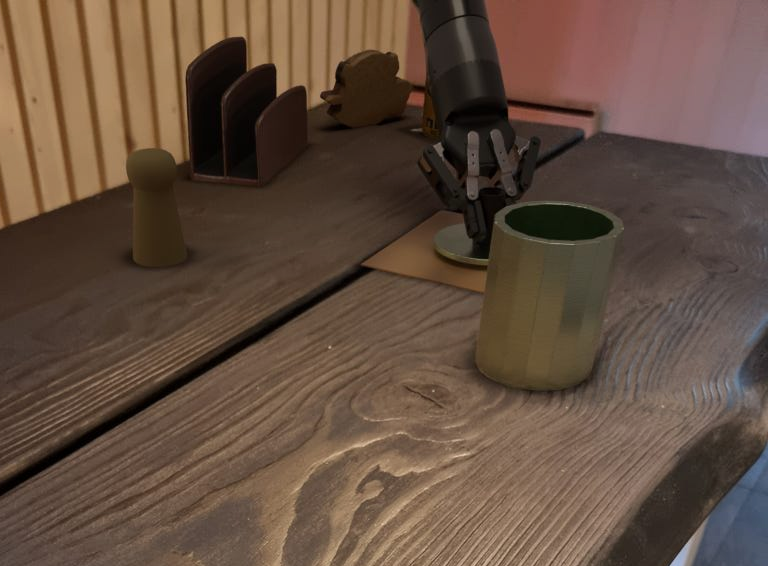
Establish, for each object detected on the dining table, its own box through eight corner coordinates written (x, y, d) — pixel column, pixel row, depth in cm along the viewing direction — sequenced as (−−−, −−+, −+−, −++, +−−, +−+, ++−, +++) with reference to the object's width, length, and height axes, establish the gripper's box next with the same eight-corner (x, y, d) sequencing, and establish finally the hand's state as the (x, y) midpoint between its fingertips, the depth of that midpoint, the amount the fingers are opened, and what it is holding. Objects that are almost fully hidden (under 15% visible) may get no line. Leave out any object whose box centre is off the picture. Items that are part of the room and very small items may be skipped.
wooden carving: (392, 113, 145) (396, 39, 139) (413, 119, 143) (418, 43, 136) (313, 133, 138) (314, 55, 131) (334, 139, 135) (336, 60, 128)
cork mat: (603, 246, 103) (604, 240, 103) (538, 309, 91) (539, 303, 90) (440, 214, 111) (441, 209, 111) (360, 269, 99) (360, 264, 98)
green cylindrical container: (605, 359, 83) (639, 213, 74) (566, 406, 77) (599, 253, 68) (500, 334, 87) (522, 193, 78) (456, 376, 81) (474, 228, 72)
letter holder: (189, 183, 121) (180, 58, 111) (243, 142, 134) (239, 27, 125) (261, 190, 118) (257, 63, 109) (309, 147, 132) (309, 31, 122)
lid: (552, 245, 102) (563, 185, 98) (513, 279, 95) (523, 216, 91) (459, 226, 106) (465, 168, 102) (415, 258, 99) (420, 197, 95)
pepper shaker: (127, 254, 102) (113, 146, 95) (179, 247, 104) (170, 139, 96) (140, 274, 98) (127, 162, 91) (195, 266, 100) (186, 155, 92)
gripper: (413, 60, 93) (445, 227, 93) (541, 52, 96) (572, 214, 95) (392, 106, 100) (422, 261, 100) (511, 97, 103) (540, 248, 103)
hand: (495, 237), depth 98 cm, fingers closed on lid, 3 cm apart
